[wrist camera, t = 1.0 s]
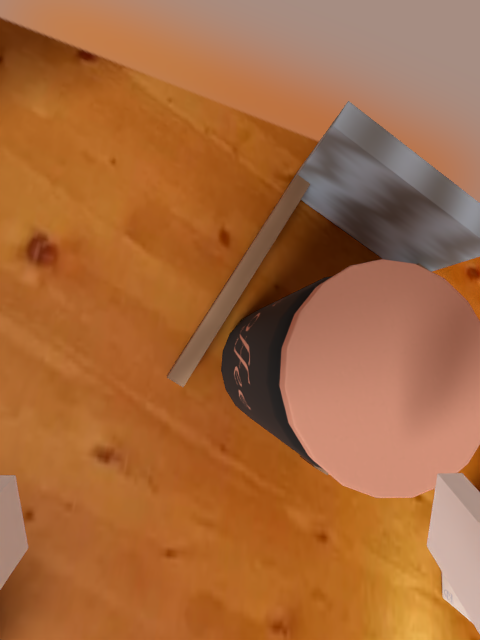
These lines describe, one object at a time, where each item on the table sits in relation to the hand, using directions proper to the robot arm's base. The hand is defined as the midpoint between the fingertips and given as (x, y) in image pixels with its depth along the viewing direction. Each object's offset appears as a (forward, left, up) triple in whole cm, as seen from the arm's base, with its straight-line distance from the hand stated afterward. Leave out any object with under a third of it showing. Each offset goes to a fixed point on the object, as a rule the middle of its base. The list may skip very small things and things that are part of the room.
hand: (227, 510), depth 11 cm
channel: (+5, +14, -21) cm, 25 cm away
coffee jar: (+5, +8, -21) cm, 23 cm away
